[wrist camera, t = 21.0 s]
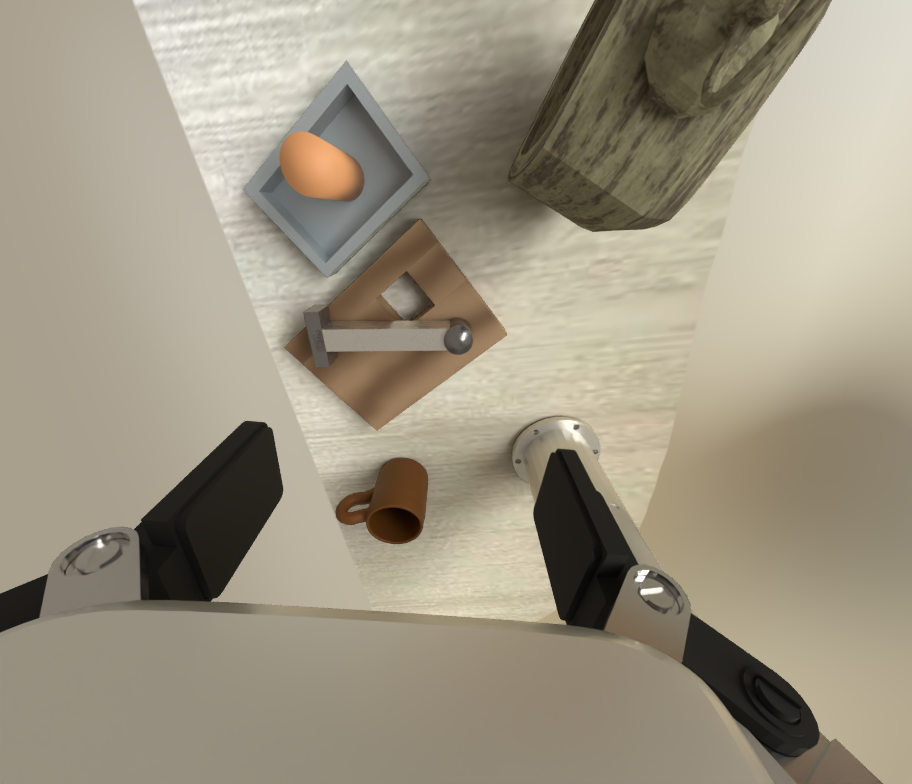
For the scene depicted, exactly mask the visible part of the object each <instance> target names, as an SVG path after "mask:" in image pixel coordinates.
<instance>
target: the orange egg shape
mask: <svg viewBox="0 0 912 784" xmlns="http://www.w3.org/2000/svg"><path fill="white" fill-rule="evenodd" d="M279 159H280V166H281V170H282V173H283V175H284V177H285V179H286V181H287V182H288V183H289V185H290V186H291V187H292V188H293V189H294V190H295V191H297V192H298V193H300V194H302V195H304V196H307V197H313V198H322V199H330V200H338V201H353V200H355V199H357V198H358V197H359V196H360V195H361V193H362V191H363V189H364V184H365V178H364V173H363V170H362V168H361V166H360V164H359V163H358V161H357V160H356V159H355V158H353V157H352V156H351V155H349V154H347V153H345V152H344V151H342V150H340V149H338V148H337V147H335V146H333V145H331V144H330V143H328V142H326V141H324V140H323V139H321V138H319V137H317V136H315V135H314V134H312V133H309V132H303V131H300V132H295V133H292V134H291V135H289V136H288V137H287V138H286V139H285V140H284V142H283V144H282V146H281V149H280V156H279Z"/></svg>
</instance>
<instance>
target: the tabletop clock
mask: <svg viewBox="0 0 912 784" xmlns="http://www.w3.org/2000/svg"><path fill="white" fill-rule="evenodd" d="M831 1H832V0H595V1H594V3H593V5H592V6H591V8H590V10H589V12H588V14H587V16H586V18H585V20H584V22H583V24H582V26H581V28H580V30H579V32H578V34H577V36H576V38H575V40H574V42H573V44H572V46H571V47H570V49H569V51H568V53H567V55H566V57H565V59H564V61H563V63H562V65H561V67H560V69H559V71H558V73H557V75H556V77H555V79H554V81H553V83H552V85H551V87H550V89H549V91H548V93H547V95H546V97H545V99H544V101H543V103H542V106H541V108H540V110H539V112H538V114H537V116H536V118H535V120H534V122H533V124H532V126H531V128H530V130H529V132H528V134H527V136H526V138H525V140H524V142H523V144H522V146H521V148H520V150H519V153H518V155H517V157H516V159H515V161H514V163H513V165H512V168H511V170H510V172H509V175H508V181H510V182H511V183H513V184H514V185H516V186H518V187H519V188H521V189H522V190H524V191H525V192H527V193H528V194H530V195H532V196H533V197H535V198H536V199H538V200H539V201H541V202H542V203H544V204H546V205H547V206H549V207H550V208H552V209H553V210H555V211H557V212H558V213H560V214H561V215H563V216H564V217H566V218H567V219H569V220H571V221H572V222H574V223H575V224H577V225H578V226H580V227H582V228H584V229H587V230H590V231H592V232H598V231H613V230H639V229H647V228H651V227H655V226H658V225H660V224H662V223H664V222H667V221H669V220H670V219H671V218H672V217H673V216H674V215H675V214H676V213H677V212H678V211H679V210H680V209H681V208H682V207H683V206H684V205H685V204H686V203H687V202H688V201H689V200H690V199H691V197H692V196H693V195H694V194H695V193H696V191H697V190H698V189H699V188H700V187H701V185H702V184H703V183H704V181H705V180H706V179H707V178H708V176H709V175H710V174H711V172H712V171H713V170H714V169H715V167H716V166H717V165H718V163H719V162H720V161H721V159H722V158H723V157H724V156H725V154H726V153H727V152H728V150H729V149H730V148H731V146H732V145H733V144H734V143H735V141H736V140H737V139H738V137H739V136H740V135H741V133H742V132H743V131H744V130H745V128H746V127H747V126H748V124H749V123H750V122H751V120H752V119H753V118H754V116H755V115H756V114H757V112H758V111H759V109H760V108H761V107H762V105H763V104H764V102H765V101H766V100H767V98H768V97H769V95H770V94H771V93H772V91H773V90H774V88H775V87H776V85H777V84H778V83H779V81H780V80H781V78H782V77H783V76H784V74H785V73H786V71H787V70H788V68H789V67H790V66H791V64H792V63H793V62H794V60H795V59H796V57H797V56H798V55H799V53H800V52H801V50H802V49H803V48H804V46H805V45H806V43H807V42H808V40H809V39H810V37H811V36H812V34H813V33H814V31H815V30H816V28H817V27H818V25H819V24H820V22H821V20H822V19H823V17H824V15H825V13H826V11H827V9H828V7H829V5H830V3H831Z"/></svg>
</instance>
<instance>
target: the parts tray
mask: <svg viewBox="0 0 912 784" xmlns="http://www.w3.org/2000/svg"><path fill="white" fill-rule="evenodd" d="M300 131H303V132H309V133H312V134H314V135H315V136H317V137H319V138H321V139H323V140H324V141H326V142H328V143H330V144H331V145H333V146H335V147H337V148H338V149H340V150H342V151H344V152H345V153H347V154H349V155H351V156H352V157H353V158H355V159H356V160H357V161H358V163H359V164H360V166H361V168H362V170H363V173H364V178H365V184H364V189H363V191H362V193H361V195H360V196H359V197H358V198H357V199H355V200H353V201H338V200H330V199H322V198H313V197H307V196H304V195H302V194H300V193H298V192H297V191H295V190H294V189H293V188H292V187H291V186H290V185H289V183H288V182H287V181H286V179H285V177H284V175H283V173H282V170H281V166H280V159H279V156H280V149H281V146H282V144H283V142H284V140H285V139H286V138H287V137H288V136H289V135H291V134H292V133H295V132H300ZM430 180H431V179H430V178H429V176H428V175H427V173H426V172H425V171H424V169H423V168H422V166H421V165H420V163H419V162H418V161H417V159H416V158H415V156H414V155H413V154H412V152H411V151H410V149H409V148H408V147H407V145H406V144H405V142H404V141H403V140H402V138H401V137H400V135H399V134H398V132H397V131H396V130H395V128H394V127H393V125H392V124H391V123H390V121H389V120H388V118H387V117H386V116H385V114H384V113H383V111H382V110H381V108H380V107H379V106H378V104H377V103H376V101H375V100H374V99H373V97H372V96H371V94H370V93H369V92H368V90H367V89H366V87H365V86H364V85H363V83H362V82H361V80H360V79H359V77H358V76H357V75H356V73H355V72H354V70H353V69H352V68H351V66H350V65H349V63H348V62H347V61H345V63H344V64H343V65H342V66H341V68H340V69H339V70H338V71H337V73H336V74H335V75H334V76H333V78H332V79H331V80H330V81H329V83H328V84H327V85H326V86H325V88H324V89H323V90H322V91H321V93H320V94H319V95H318V96H317V98H316V99H315V100H314V101H313V103H312V104H311V105H310V106H309V108H308V109H307V110H306V111H305V113H304V114H303V115H302V116H301V118H300V119H299V120H298V121H297V123H296V124H295V125H294V126H293V128H292V129H291V130H290V131H289V133H288V134H287V135H286V136H285V138H284V139H283V140H282V141H281V143H280V144H279V145H278V146H277V147H276V149H275V150H274V151H273V152H272V154H271V155H270V156H269V157H268V159H267V160H266V161H265V162H264V164H263V165H262V166H261V167H260V169H259V170H258V171H257V172H256V174H255V175H254V176H253V177H252V179H251V180H250V181H249V182H248V184H247V185H246V186H245V187H244V189H243V190H244V191H245V192H246V193H247V194H248V195H249V196H250V197H251V198H252V200H253V201H254V202H255V203H256V204H257V205H258V206H259V207H260V208H261V209H262V210H263V211H264V212H265V213H266V214H267V215H268V216H269V217H270V219H271V220H272V221H273V222H274V223H275V224H276V225H277V226H278V227H279V228H280V229H281V230H282V231H283V232H284V233H285V234H286V235H287V236H288V237H289V239H290V240H291V241H292V242H293V243H294V244H295V245H296V246H297V247H298V248H299V249H300V250H301V251H302V252H303V253H304V254H305V255H306V256H307V257H308V259H309V260H310V261H311V262H312V263H313V264H314V265H315V266H316V267H317V268H318V269H319V270H320V271H321V272H322V273H323V274H324V275H325V276H326V277H329V276H331V275H333V274H335V273H337V272H338V271H339V270H340V269H341V268H342V267H343V266H344V265H345V264H346V263H347V262H348V261H349V260H350V259H351V258H352V257H353V256H354V255H355V254H356V253H357V252H358V251H359V250H360V249H361V248H362V247H363V246H364V245H365V244H366V243H367V242H368V241H369V240H370V239H371V238H372V237H373V236H374V235H375V234H376V233H377V232H378V231H379V230H380V229H381V228H382V227H383V226H384V225H385V224H386V223H388V222H389V221H390V220H391V219H392V218H393V217H394V216H395V215H396V214H397V213H398V212H399V211H400V210H401V209H402V208H403V207H404V206H405V205H406V204H407V203H408V202H409V201H410V200H411V199H412V198H413V197H414V196H415V195H416V194H417V193H418V192H419V191H420V190H421V189H422V188H423V187H424V186H425V185H426V184H427V183H428V182H429V181H430Z"/></svg>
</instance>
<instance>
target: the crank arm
mask: <svg viewBox="0 0 912 784" xmlns="http://www.w3.org/2000/svg"><path fill="white" fill-rule="evenodd" d="M303 313H304V318H305V322H306V327H307V331H308V335H309V340H310V344H311V348H312V353H313V357H314V362H315V366H316V367H330V366H331V365H332V364H333V362H334V361H335V360H336V359H337V358H338V353H337V352H340V351H449V352H450V353H452V354H455V355H461V354H464V353H466V352H468V351H469V350H470V349H471V347H472V344H473V337H472V330H471V326H470V324H469V322H468V321H467V320H465V319H463V318H453V319H451V320H424V321H331V316H330V311H329V306H328V305H314V306H312V307H311V308H309V309H308V310H306V311H305V312H303Z"/></svg>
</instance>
